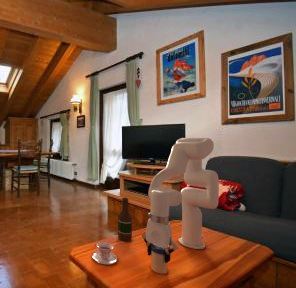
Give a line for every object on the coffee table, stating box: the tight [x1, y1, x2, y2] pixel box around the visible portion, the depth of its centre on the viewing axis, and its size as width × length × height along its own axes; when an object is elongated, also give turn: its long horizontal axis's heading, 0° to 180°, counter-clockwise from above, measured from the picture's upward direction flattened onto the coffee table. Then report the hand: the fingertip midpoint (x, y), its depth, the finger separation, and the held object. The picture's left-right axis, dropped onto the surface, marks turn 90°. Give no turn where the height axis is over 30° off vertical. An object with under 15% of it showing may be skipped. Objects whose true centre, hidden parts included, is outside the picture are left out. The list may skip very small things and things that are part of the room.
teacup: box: [91, 241, 118, 266], centre depth 105 cm, size 12×12×6 cm
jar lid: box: [151, 243, 166, 254], centre depth 97 cm, size 7×7×2 cm
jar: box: [150, 250, 168, 275], centre depth 97 cm, size 7×7×10 cm
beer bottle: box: [117, 197, 133, 243], centre depth 127 cm, size 8×8×24 cm
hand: (158, 257), depth 96 cm, fingers closed on jar lid, 7 cm apart
